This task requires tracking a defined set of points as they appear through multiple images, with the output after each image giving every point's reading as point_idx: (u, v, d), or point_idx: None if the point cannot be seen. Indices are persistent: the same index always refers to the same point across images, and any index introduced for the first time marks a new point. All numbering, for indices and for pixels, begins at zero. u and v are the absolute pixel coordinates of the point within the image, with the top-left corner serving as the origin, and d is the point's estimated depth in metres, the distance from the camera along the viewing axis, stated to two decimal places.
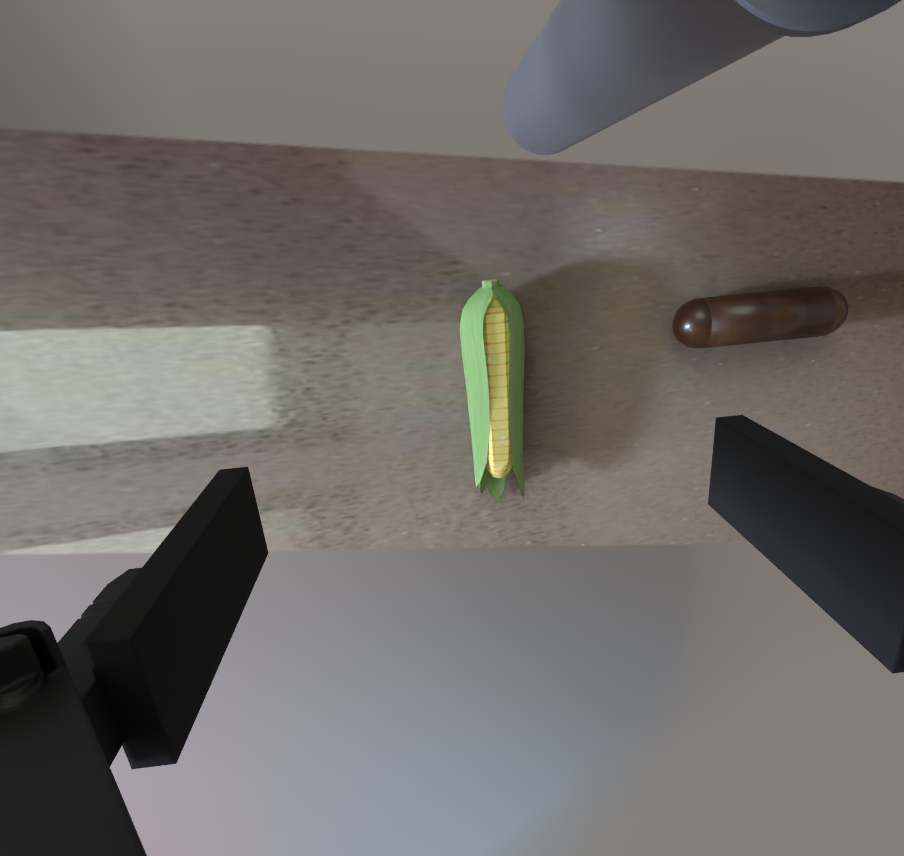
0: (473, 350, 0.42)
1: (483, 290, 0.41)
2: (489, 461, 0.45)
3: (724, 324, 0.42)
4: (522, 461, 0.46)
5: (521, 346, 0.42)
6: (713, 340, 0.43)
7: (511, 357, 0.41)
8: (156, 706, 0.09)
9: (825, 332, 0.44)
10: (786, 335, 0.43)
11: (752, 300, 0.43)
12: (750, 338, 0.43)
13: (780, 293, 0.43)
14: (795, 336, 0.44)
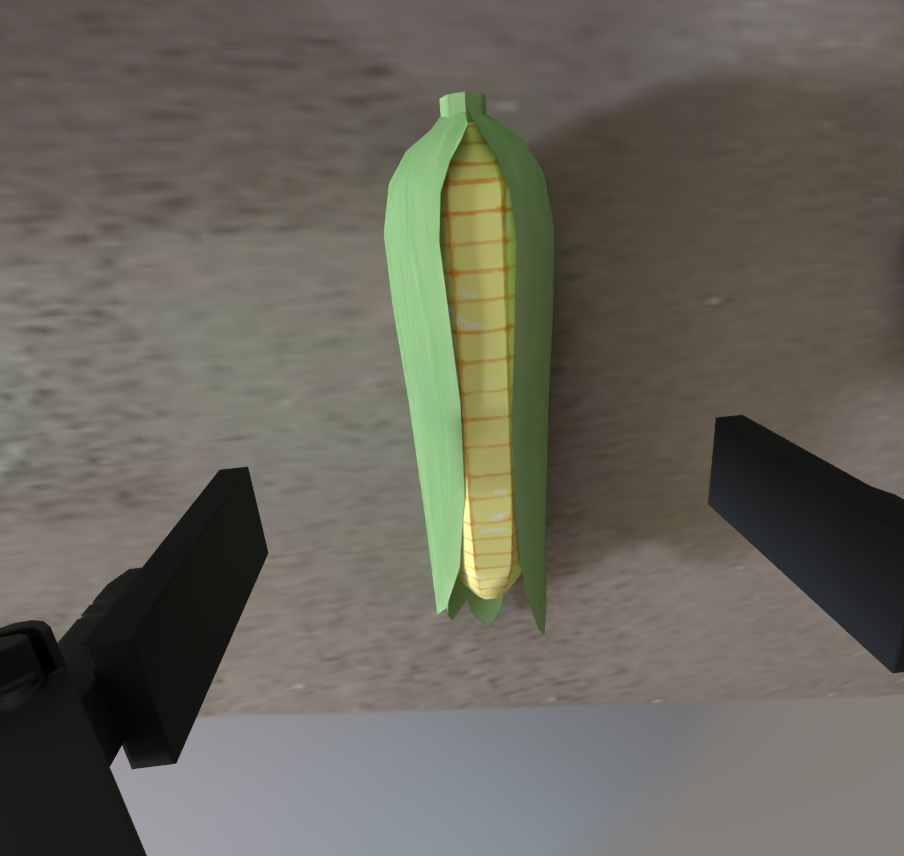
0: (417, 293, 0.15)
1: (443, 122, 0.15)
2: (465, 567, 0.19)
3: None
4: (543, 561, 0.20)
5: (546, 285, 0.16)
6: None
7: (519, 311, 0.15)
8: (156, 706, 0.09)
9: None
10: None
11: None
12: None
13: None
14: None
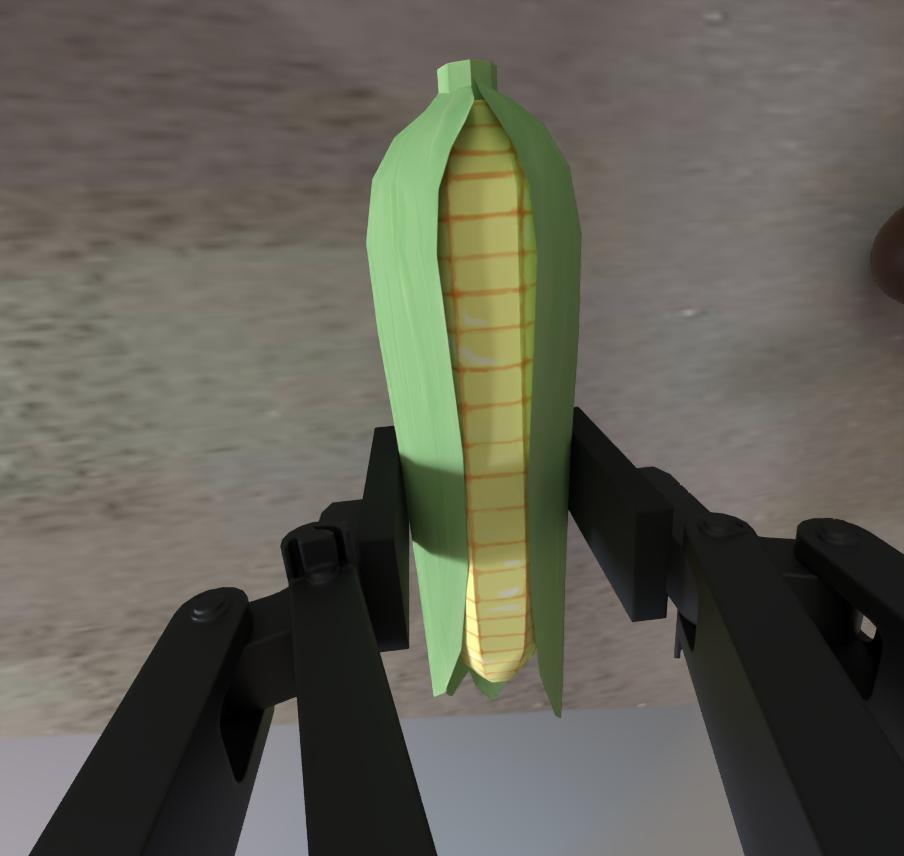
0: (408, 319, 0.12)
1: (441, 99, 0.11)
2: (468, 649, 0.16)
3: None
4: (561, 636, 0.17)
5: (572, 308, 0.13)
6: None
7: (540, 343, 0.12)
8: (400, 598, 0.11)
9: None
10: None
11: None
12: None
13: None
14: None
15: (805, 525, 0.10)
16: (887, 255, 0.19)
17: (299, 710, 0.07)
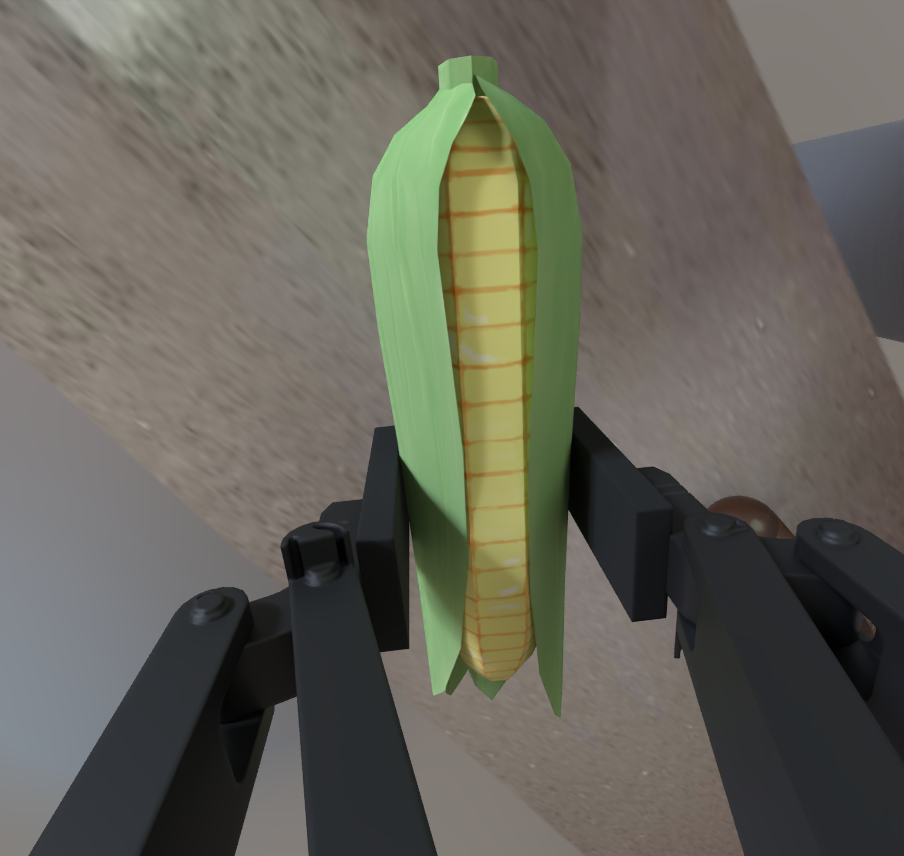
0: (409, 316, 0.12)
1: (442, 96, 0.11)
2: (468, 647, 0.15)
3: None
4: (561, 635, 0.17)
5: (573, 305, 0.13)
6: None
7: (541, 340, 0.12)
8: (400, 598, 0.11)
9: None
10: None
11: None
12: None
13: None
14: None
15: (805, 525, 0.10)
16: (719, 510, 0.29)
17: (299, 710, 0.07)
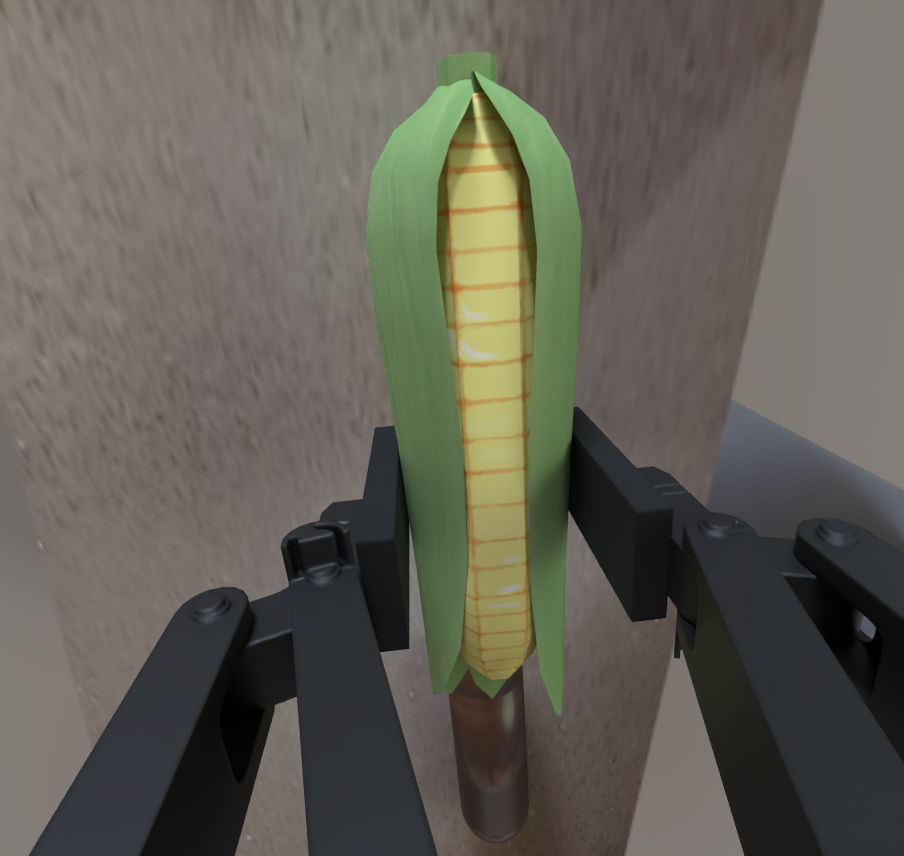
0: (408, 313, 0.12)
1: (441, 92, 0.11)
2: (468, 646, 0.15)
3: (493, 714, 0.27)
4: (561, 633, 0.17)
5: (572, 303, 0.13)
6: (467, 702, 0.27)
7: (540, 338, 0.12)
8: (400, 598, 0.11)
9: (472, 825, 0.31)
10: (470, 786, 0.29)
11: (522, 733, 0.29)
12: (467, 746, 0.28)
13: (526, 759, 0.30)
14: (467, 794, 0.30)
15: (805, 525, 0.10)
16: None
17: (299, 710, 0.07)
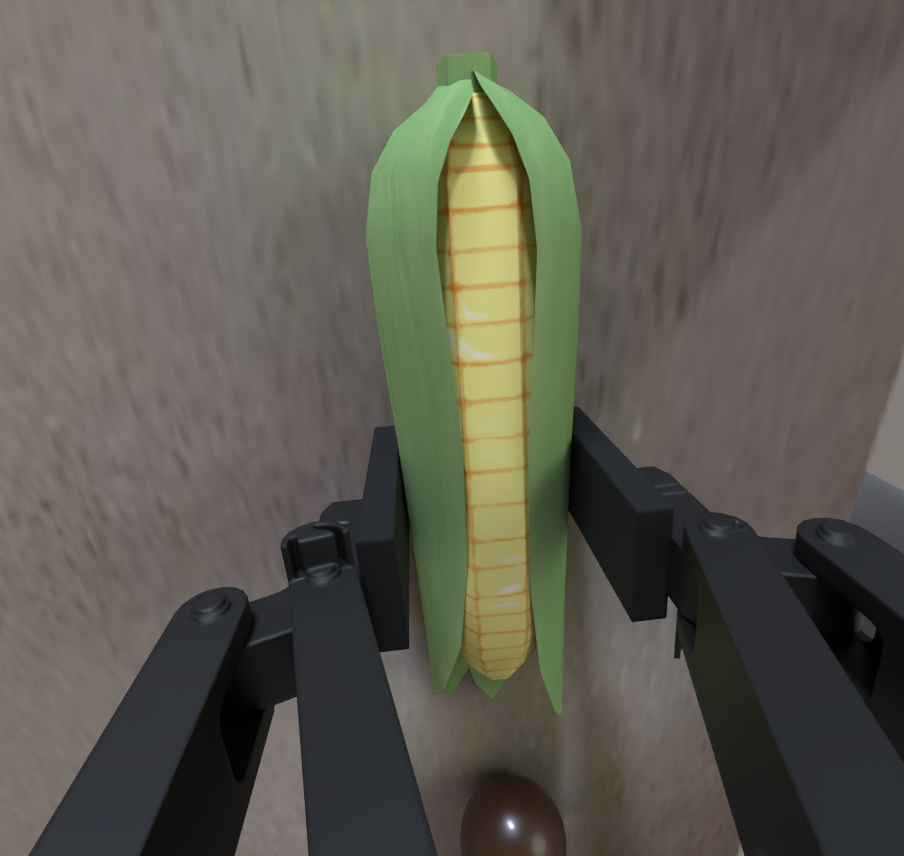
0: (408, 313, 0.12)
1: (441, 92, 0.11)
2: (468, 646, 0.15)
3: None
4: (561, 633, 0.17)
5: (572, 302, 0.13)
6: None
7: (540, 337, 0.12)
8: (400, 598, 0.11)
9: None
10: None
11: None
12: None
13: None
14: None
15: (805, 525, 0.10)
16: (509, 798, 0.20)
17: (299, 710, 0.07)
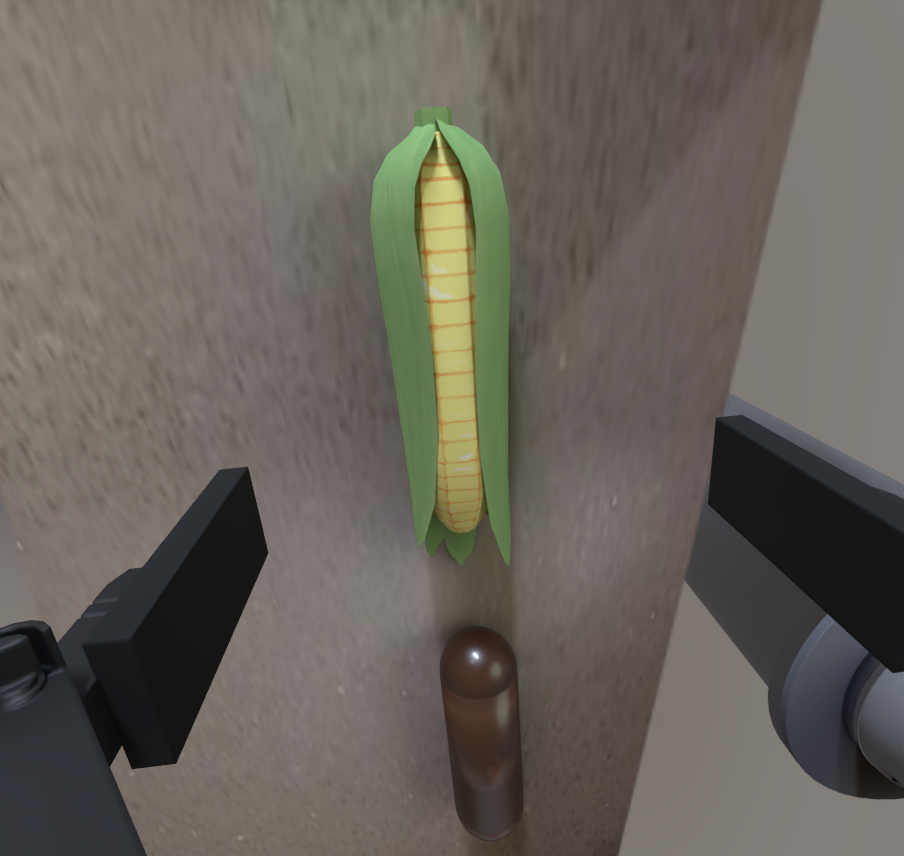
0: (397, 269, 0.19)
1: (417, 131, 0.18)
2: (440, 503, 0.23)
3: (487, 713, 0.27)
4: (506, 500, 0.24)
5: (503, 263, 0.20)
6: (461, 702, 0.27)
7: (480, 284, 0.19)
8: (156, 706, 0.09)
9: (466, 824, 0.30)
10: (464, 785, 0.29)
11: (516, 732, 0.28)
12: (461, 745, 0.28)
13: (520, 757, 0.30)
14: (461, 793, 0.30)
15: None
16: (475, 636, 0.27)
17: None
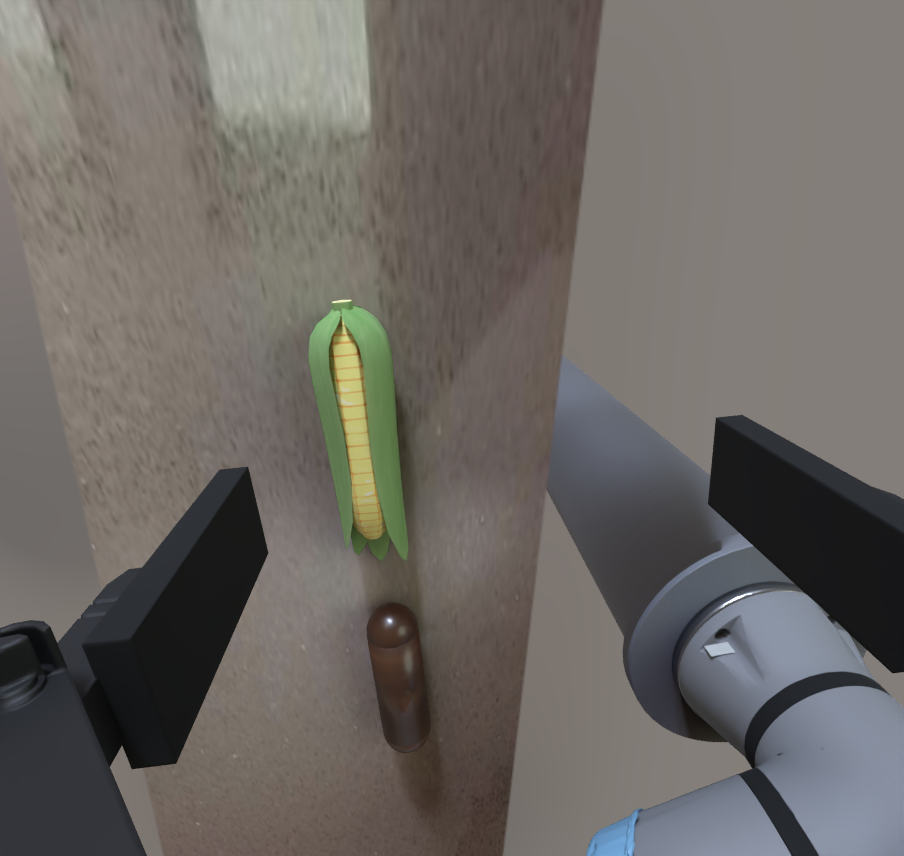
0: (322, 388, 0.33)
1: (332, 313, 0.32)
2: (356, 521, 0.37)
3: (395, 658, 0.41)
4: (400, 519, 0.38)
5: (385, 382, 0.34)
6: (378, 651, 0.41)
7: (369, 397, 0.33)
8: (156, 706, 0.09)
9: (388, 740, 0.44)
10: (385, 711, 0.43)
11: (418, 674, 0.42)
12: (380, 681, 0.42)
13: (424, 693, 0.44)
14: (383, 717, 0.43)
15: None
16: (389, 608, 0.41)
17: None
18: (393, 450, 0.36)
